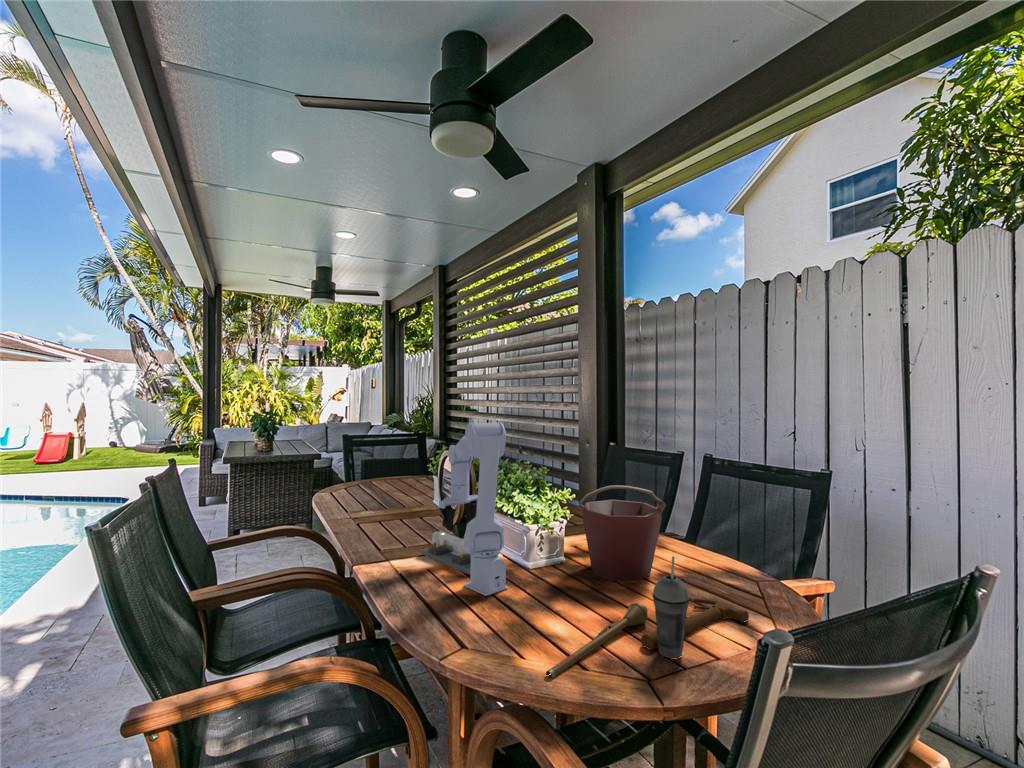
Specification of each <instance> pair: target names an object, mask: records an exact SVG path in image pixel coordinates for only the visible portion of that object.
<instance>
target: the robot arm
mask: <svg viewBox="0 0 1024 768" xmlns="http://www.w3.org/2000/svg"><path fill="white" fill-rule="evenodd" d="M464 430H465V432H464V435H463V436H462V437H461V438H460V440H459V441H458V442H457V443H456V445H453V444H450V445H449V447H448V462H449V464H450V496H449V498H446V499H443V500H439V501H438V508H439V511H440V513H441V515H442V517H443V519H444V522H445V527H446V530H447V531H449V532H453V531H454V521H455V520H454V519H455V514H456V511H457V510H456V509H455V508H453V507H456V506H460V505H463V506H464V511H465V525H466V529H465V533H464V535H463V539H464V545H465V549H466V551H467V553H468V554H471V574H469V575H470V578H469V579H470V581H469V582H466V583H464V584H463V587H465V588H467V589H469V590H471V591H474V592H476V593H478V594H479V595H483V596H485V597H486V596H490V595H493V594H495V593H499V592H502V591H505V590H507V589H508V588H509V587H508V585H506V583H507V582H506V581H507V579H506V578H507V577H506V576H507V567H506V566H507V565H506V563H505V561H504V560H503V559H502V558H501V557H500V556H499V555H500V553H501V551H502V550H503V548H504V547H505V535H504V532H505V530H504V526H503V524H502V523H501V521H500V520H499V519H497V518H495V514H496V512H495V511H496V501H497V499H496V498H497V488H498V487H497V484H498V475H499V474H498V473H499V463H500V458H501V457H503V455H505V451H506V442H507V432H506V429H505V426H504V424H503V422H500V421H499V422H476V423H475V422H474V423H473V422H469V423H467V425H466V427H465V429H464ZM473 457H474V458H476V459H479V471H478V472H479V473H478V484H477V485H478V487H477V494H471V495H470V470H471V468H472V461H473Z"/></svg>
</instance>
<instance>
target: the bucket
mask: <svg viewBox="0 0 1024 768" xmlns="http://www.w3.org/2000/svg"><path fill="white" fill-rule="evenodd" d="M608 490H609V491H610V490H630V491H635V492H640V493H643V494H646V495H650V498H651V499H652V500H653V501H654V502H655V503H657V506H653V505H651V504H649V503H646V502H641V501H633V500H632V501H631V500H620V499H606V500H605V499H604V500H596V501H587V500H588V498H591V497H593V496H596V495H597V494H599V493H603V492H606V491H608ZM586 501H587V502H586ZM584 502H585V503H584ZM583 503H584V505H583ZM666 506H667V504H666V503H665V502H664V500H662V499H660V498H658V497H657V496H656V495H655V494H654V492H653V491H652V490H648V489H645V488H641V487H637V486H631V485H621V484H620V485H617V484H615V485H607V486H604V487H600V488H598V489H595V490H593V491H591V492H588V493H587V494H585V496H583V498H581V500H579V503H578V507H579V508H580V509H581V510H582V513H583V514H582V522H583V527H584V532H585V537H586V544H587V550H588V554H589V555H588V556H589V561H590V567H591V572H592V574H593V575H595V576H598V577H600V578H603V579H606V580H609V581H612V582H640V581H642V580H643V579H645V578H646V577H648V576H649V575H651V571H652V568H653V564H654V558H655V553H656V549H657V544H658V540H659V535H660V528H661V526H662V525H661V524H662V522H663V521H662V519H663V518H662V515H663V514H662V513H663V512H664V511H665V508H666Z"/></svg>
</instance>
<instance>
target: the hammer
mask: <svg viewBox="0 0 1024 768" xmlns="http://www.w3.org/2000/svg"><path fill="white" fill-rule="evenodd" d="M693 599H694V600H693V602H694V603H695V604H696V603H697V604H705V605H706V604H707V605H712V606H702V605H700V606H699V605H694V606H693V608H694V609H696V608H700V609H701V610H703V611H702V612H699V613H696V614H694V615H690V616H688V617H687V616H686V623H685V634H686V635H688V634H690V633H692V632H694V631H696V630H698V629H700V628H701V626H702V627H703V626H705V625H707V624H709V623H712V622H715V621H714V620H716V621H718V620H719V619H721V618H726V617H732V618H735V619H737V620H739V621H742V622H744V621H746V620H748V621H749V618H750V616H749V612H748V611H747V610H745V609H741V608H737V607H735V606H734V605H733V604H730V603H726V602H724V601H720V600H717V599H708V598H693ZM700 609H699V610H700ZM705 609H707V610H705ZM720 617H721V618H720ZM726 619H727V618H726ZM735 619H734V620H735ZM737 620H736V621H737ZM739 621H738V622H739ZM699 627H700V628H699ZM697 628H698V629H697ZM695 629H696V630H695ZM693 630H694V631H693ZM685 634H684V636H686V635H685ZM640 642H641V645H642V647H643V646H646V647H648V648H650V649H653V650H655V649H657V648H658V639H657V629H655V630H653V631H650V632H648V633H644V634H642V635H641V638H640ZM656 647H657V648H656ZM654 648H655V649H654Z"/></svg>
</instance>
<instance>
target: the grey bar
mask: <svg viewBox="0 0 1024 768" xmlns="http://www.w3.org/2000/svg"><path fill="white" fill-rule="evenodd" d="M431 539H432V541H431V542H432V545H433V547H436V542H437V541H439V542H440V547H442V548H445V549H447V550H450V551H453V552H455V553H458V554H460V550H464V556H466V557H468V558H471V554H468V553H467V551H466V549H465V545H464V538H460V537H458V536H455V535H452V534H449V533H447V532H446V531H440V530H438V531H434V532H432V537H431Z"/></svg>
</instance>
